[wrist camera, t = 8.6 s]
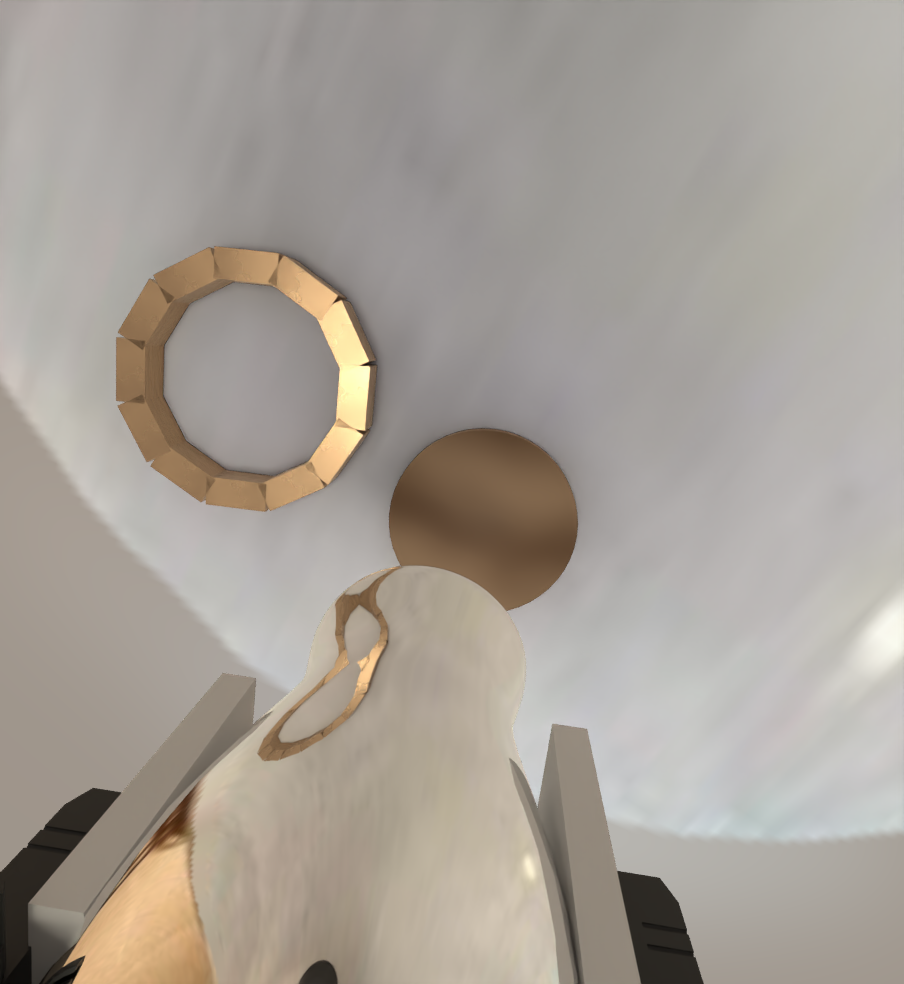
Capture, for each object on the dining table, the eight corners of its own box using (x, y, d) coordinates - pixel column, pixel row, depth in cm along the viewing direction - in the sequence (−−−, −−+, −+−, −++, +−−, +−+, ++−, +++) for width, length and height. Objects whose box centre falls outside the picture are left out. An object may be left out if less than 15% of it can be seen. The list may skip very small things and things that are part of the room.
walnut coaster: (400, 417, 37) (397, 419, 36) (588, 440, 37) (591, 443, 36) (384, 594, 40) (381, 600, 39) (561, 617, 39) (562, 624, 38)
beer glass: (262, 712, 21) (-326, 1619, 6) (356, 505, 19) (-128, 1044, 4) (476, 811, 21) (411, 1924, 6) (585, 614, 19) (842, 1477, 5)
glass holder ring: (137, 241, 36) (116, 235, 34) (385, 268, 36) (378, 264, 34) (135, 485, 39) (115, 492, 37) (364, 514, 39) (356, 523, 37)
